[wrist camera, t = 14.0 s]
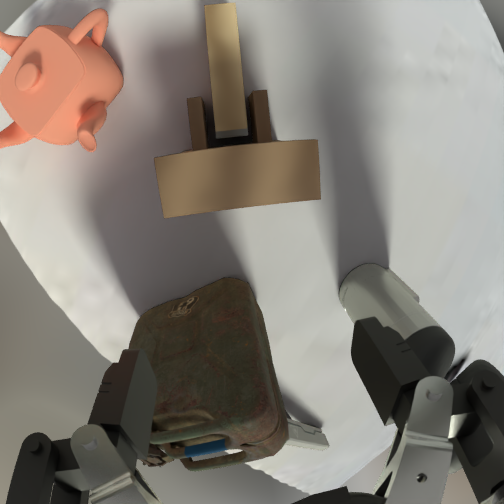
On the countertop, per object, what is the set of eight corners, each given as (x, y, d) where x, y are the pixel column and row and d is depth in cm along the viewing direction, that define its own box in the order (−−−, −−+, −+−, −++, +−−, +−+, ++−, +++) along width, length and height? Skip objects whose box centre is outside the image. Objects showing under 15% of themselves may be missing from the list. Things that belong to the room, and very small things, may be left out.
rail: (233, 17, 29) (235, 2, 24) (244, 135, 35) (248, 135, 31) (205, 19, 29) (204, 5, 24) (216, 138, 35) (216, 138, 31)
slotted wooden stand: (277, 95, 34) (311, 74, 20) (284, 173, 38) (320, 199, 24) (174, 106, 33) (145, 91, 19) (184, 185, 37) (164, 218, 23)
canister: (242, 267, 43) (268, 412, 20) (264, 311, 46) (299, 452, 23) (134, 313, 44) (90, 447, 21) (162, 349, 47) (141, 481, 24)
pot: (22, 152, 32) (-32, 166, 20) (33, 43, 25) (-16, 28, 14) (130, 144, 34) (92, 152, 23) (144, 23, 28) (115, -14, 16)
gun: (264, 392, 52) (279, 436, 44) (317, 415, 66) (331, 447, 58) (254, 398, 53) (267, 442, 44) (309, 419, 67) (322, 451, 59)
